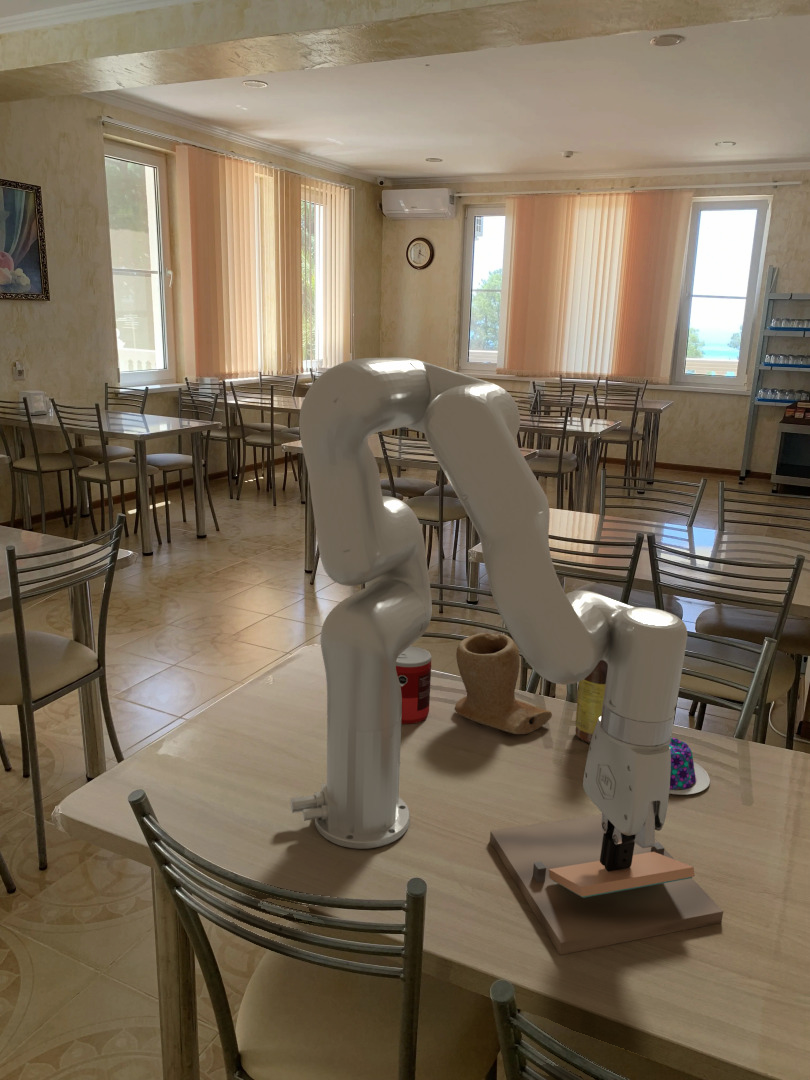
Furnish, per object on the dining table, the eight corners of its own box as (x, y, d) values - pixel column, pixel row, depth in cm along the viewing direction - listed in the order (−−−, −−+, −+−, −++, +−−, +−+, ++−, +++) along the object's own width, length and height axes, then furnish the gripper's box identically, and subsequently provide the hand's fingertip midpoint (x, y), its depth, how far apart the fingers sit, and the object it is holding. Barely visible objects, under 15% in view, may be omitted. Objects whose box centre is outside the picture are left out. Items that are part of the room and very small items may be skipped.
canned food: (376, 706, 139) (378, 647, 136) (420, 701, 141) (423, 643, 138) (389, 727, 132) (391, 665, 129) (435, 722, 134) (438, 661, 131)
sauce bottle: (614, 748, 127) (627, 631, 122) (574, 743, 129) (585, 627, 123) (612, 729, 134) (624, 617, 129) (574, 724, 135) (584, 613, 130)
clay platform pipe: (438, 719, 135) (442, 636, 131) (478, 697, 144) (483, 618, 140) (514, 751, 126) (521, 662, 122) (552, 725, 134) (560, 641, 131)
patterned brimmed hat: (617, 754, 126) (620, 724, 125) (693, 757, 126) (697, 727, 125) (637, 797, 115) (641, 764, 113) (721, 800, 115) (726, 768, 113)
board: (489, 840, 103) (491, 818, 102) (627, 819, 109) (629, 798, 108) (560, 954, 85) (562, 928, 84) (721, 922, 90) (725, 897, 89)
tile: (580, 886, 86) (582, 898, 86) (693, 867, 90) (694, 878, 90) (548, 869, 94) (549, 879, 93) (653, 851, 97) (654, 861, 97)
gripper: (572, 693, 93) (555, 830, 98) (646, 761, 79) (622, 916, 84) (628, 688, 95) (609, 822, 100) (710, 753, 81) (682, 905, 86)
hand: (615, 865), depth 92 cm, fingers closed
